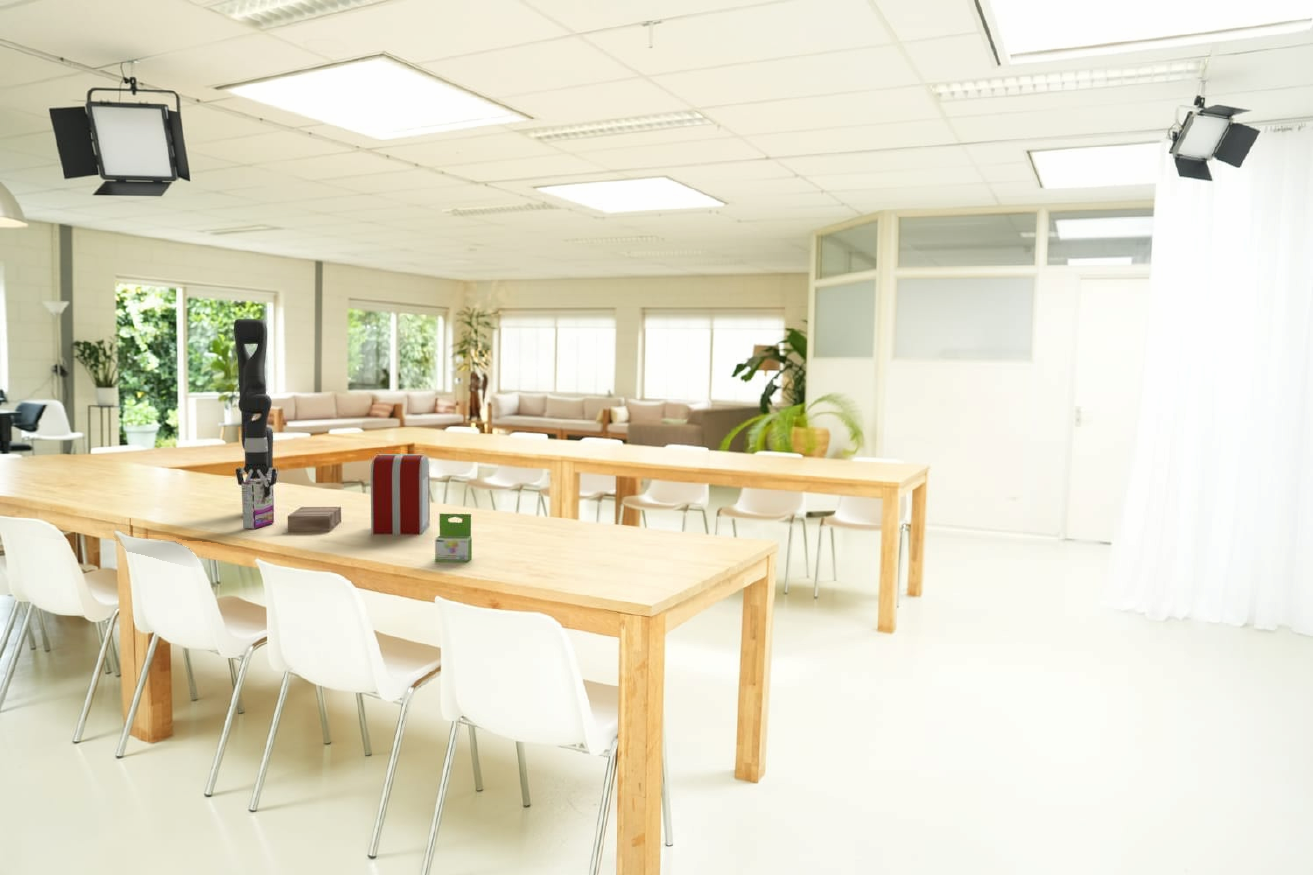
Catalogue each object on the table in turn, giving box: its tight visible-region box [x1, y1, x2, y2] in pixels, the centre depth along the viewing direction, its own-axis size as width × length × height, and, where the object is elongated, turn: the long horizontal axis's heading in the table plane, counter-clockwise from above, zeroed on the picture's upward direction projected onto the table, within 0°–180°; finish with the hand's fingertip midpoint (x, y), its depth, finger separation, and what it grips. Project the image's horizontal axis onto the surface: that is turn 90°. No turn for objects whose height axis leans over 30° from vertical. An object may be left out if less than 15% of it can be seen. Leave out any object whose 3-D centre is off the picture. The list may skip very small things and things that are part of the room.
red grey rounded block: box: [370, 453, 431, 535], centre depth 309 cm, size 16×18×27 cm
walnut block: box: [287, 506, 342, 533], centre depth 312 cm, size 18×14×6 cm
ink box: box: [434, 513, 473, 563], centre depth 267 cm, size 10×5×14 cm, turn 90°
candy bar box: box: [240, 479, 275, 530], centre depth 310 cm, size 11×5×16 cm, turn 169°
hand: (257, 496), depth 310 cm, fingers closed on candy bar box, 6 cm apart
